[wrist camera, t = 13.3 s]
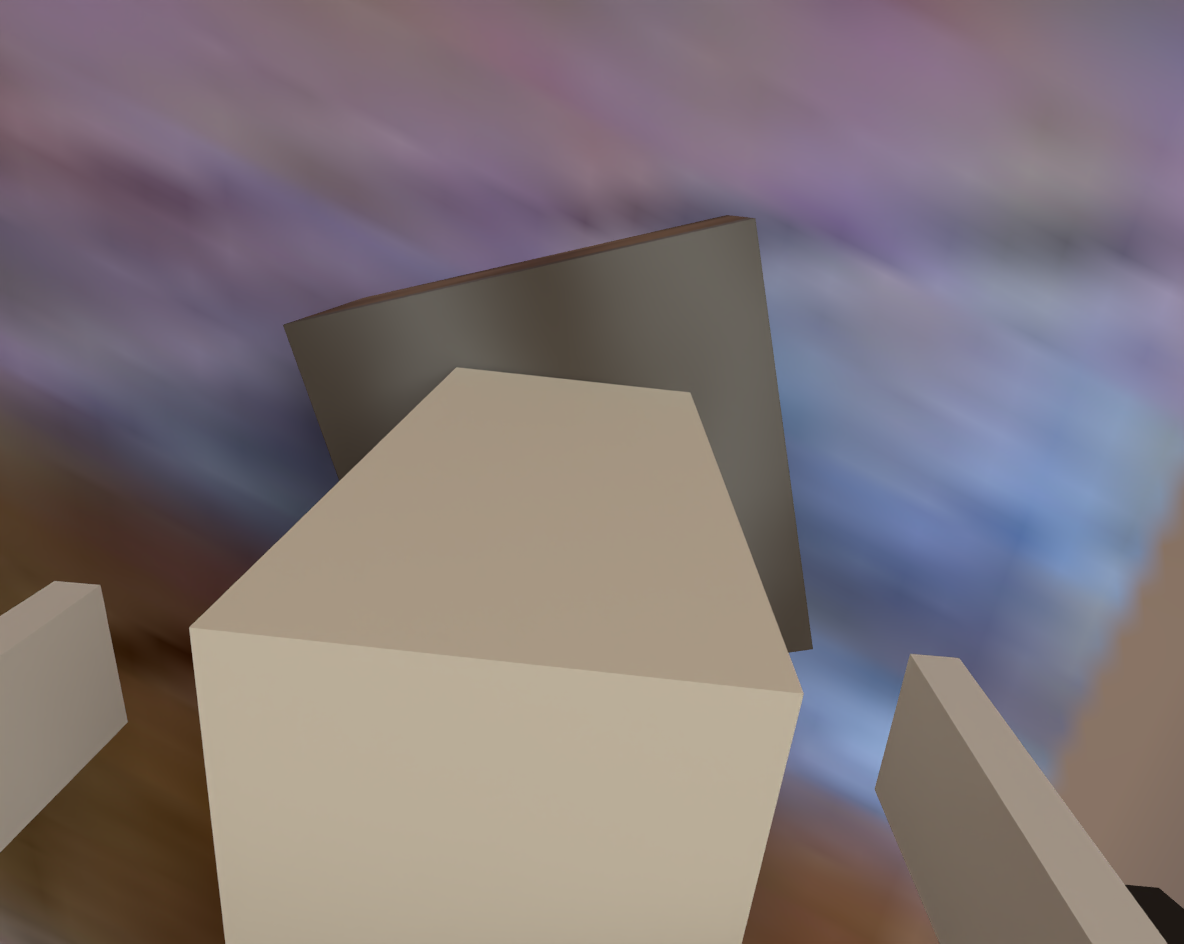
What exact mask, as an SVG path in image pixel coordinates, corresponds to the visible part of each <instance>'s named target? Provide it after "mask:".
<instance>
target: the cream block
mask: <svg viewBox="0 0 1184 944" xmlns="http://www.w3.org/2000/svg"><path fill="white" fill-rule="evenodd" d="M189 630H190V639H191V648H192V657H193V665H194V674H195V683H196V691H197V700H198V709H199V718H200V726H201V735H202V744H203V752H204V761H205V770H206V779H207V787H208V796H209V805H210V813H211V822H212V831H213V840H214V848H215V857H216V866H217V874H218V883H219V892H220V901H221V909H222V918H223V927H224V935H225V944H742V940H743V936H744V932H745V928H746V923H747V919H748V915H749V911H750V907H751V903H752V899H753V895H754V891H755V887H756V883H757V879H758V875H759V871H760V867H761V863H762V859H763V855H764V851H765V847H766V843H767V839H768V835H769V831H770V827H771V823H772V819H773V815H774V811H775V807H776V803H777V799H778V795H779V791H780V787H781V783H782V779H783V775H784V771H785V767H786V763H787V759H788V755H789V751H790V747H791V743H792V739H793V735H794V731H795V727H796V723H797V719H798V714H799V710H800V706H801V702H802V698H803V694H804V693H803V691H802V688H801V685H800V683H799V680H798V677H797V675H796V672H795V669H794V667H793V664H792V662H791V659H790V656H789V654H788V651H787V648H786V646H785V643H784V640H783V638H782V635H781V632H780V630H779V627H778V624H777V622H776V619H775V616H774V614H773V611H772V608H771V606H770V603H769V600H768V598H767V595H766V592H765V590H764V587H763V584H762V582H761V579H760V576H759V574H758V571H757V568H756V566H755V563H754V560H753V558H752V555H751V552H750V550H749V547H748V544H747V542H746V539H745V537H744V534H743V531H742V529H741V526H740V523H739V521H738V518H737V515H736V513H735V510H734V507H733V505H732V502H731V499H730V497H729V494H728V491H727V489H726V486H725V483H724V481H723V478H722V475H721V473H720V470H719V467H718V465H717V462H716V459H715V457H714V454H713V451H712V449H711V446H710V443H709V441H708V438H707V435H706V433H705V430H704V427H703V425H702V422H701V419H700V417H699V414H698V411H697V409H696V406H695V404H694V401H693V398H692V396H691V393H690V392H681V391H672V390H663V389H654V388H644V387H635V386H626V385H617V384H607V383H598V382H589V381H579V380H570V379H561V378H552V377H542V376H533V375H524V374H514V373H505V372H496V371H487V370H477V369H468V368H459V367H456V368H455V369H454V370H453V371H452V372H451V373H450V374H449V375H448V376H447V377H446V378H445V379H444V380H443V381H442V382H441V383H440V384H439V385H438V386H437V387H436V388H435V389H434V390H433V391H431V392H430V393H429V394H428V395H427V396H426V397H425V398H424V399H423V400H422V401H421V402H420V403H419V404H418V405H417V406H416V407H415V408H414V409H413V410H412V411H411V412H410V413H409V414H408V415H407V416H406V417H405V418H404V419H403V420H402V421H401V422H400V423H399V424H398V425H397V426H396V427H395V428H394V429H392V430H391V431H390V432H389V433H388V434H387V435H386V436H385V437H384V438H383V439H382V440H381V441H380V442H379V443H378V444H377V445H376V446H375V447H374V448H373V449H372V450H371V451H370V452H369V453H368V454H367V455H366V456H365V457H364V458H363V459H362V460H361V461H360V462H359V463H358V464H357V465H356V466H354V467H353V468H352V469H351V470H350V471H349V472H348V473H347V474H346V475H345V476H344V477H343V478H342V479H341V480H340V481H339V482H338V483H337V484H336V485H335V486H334V487H333V488H332V489H331V490H330V491H329V492H328V493H327V494H326V495H325V496H324V497H323V498H322V499H321V500H320V501H319V502H318V503H317V504H315V505H314V506H313V507H312V508H311V509H310V510H309V511H308V512H307V513H306V514H305V515H304V516H303V517H302V518H301V519H300V520H299V521H298V522H297V523H296V524H295V525H294V526H293V527H292V528H291V529H290V530H289V531H288V532H287V533H286V534H285V535H284V536H283V537H282V538H281V539H280V540H279V541H278V542H276V543H275V544H274V545H273V546H272V547H271V548H270V549H269V550H268V551H267V552H266V553H265V554H264V555H263V556H262V557H261V558H260V559H259V560H258V561H257V562H256V563H255V564H254V565H253V566H252V567H251V568H250V569H249V570H248V571H247V572H246V573H245V574H244V575H243V576H242V577H241V578H240V579H238V580H237V581H236V582H235V583H234V584H233V585H232V586H231V587H230V588H229V589H228V590H227V591H226V592H225V593H224V594H223V595H222V596H221V597H220V598H219V599H218V600H217V601H216V602H215V603H214V604H213V605H212V606H211V607H210V608H209V609H208V610H207V611H206V612H205V613H204V614H203V615H202V616H201V617H199V618H198V619H197V620H196V621H195V622H194V623H193V624H192V625H191V626H190V627H189Z"/></svg>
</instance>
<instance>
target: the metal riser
mask: <svg viewBox="0 0 1184 944" xmlns="http://www.w3.org/2000/svg"><path fill="white" fill-rule="evenodd" d="M283 326H284V329H285V332H286V334H287V337H288V340H289V343H290V345H291V348H292V351H293V354H294V356H295V359H296V362H297V365H298V368H299V370H300V373H301V376H302V379H303V381H304V384H305V387H306V390H307V392H308V395H309V398H310V401H311V403H312V406H313V409H314V412H315V414H316V417H317V420H318V423H319V426H320V428H321V431H322V434H323V437H324V439H325V442H326V445H327V448H328V450H329V453H330V456H331V459H332V461H333V464H334V467H335V470H336V472H337V475H338V478H339V481H340V480H341V479H342V478H343V477H344V476H345V475H346V474H347V473H348V472H349V471H350V470H351V469H352V468H353V467H354V466H356V465H357V464H358V463H359V462H360V461H361V460H362V459H363V458H364V457H365V456H366V455H367V454H368V453H369V452H370V451H371V450H372V449H373V448H374V447H375V446H376V445H377V444H378V443H379V442H380V441H381V440H382V439H383V438H384V437H385V436H386V435H387V434H388V433H389V432H390V431H391V430H392V429H394V428H395V427H396V426H397V425H398V424H399V423H400V422H401V421H402V420H403V419H404V418H405V417H406V416H407V415H408V414H409V413H410V412H411V411H412V410H413V409H414V408H415V407H416V406H417V405H418V404H419V403H420V402H421V401H422V400H423V399H424V398H425V397H426V396H427V395H428V394H429V393H430V392H431V391H433V390H434V389H435V388H436V387H437V386H438V385H439V384H440V383H441V382H442V381H443V380H444V379H445V378H446V377H447V376H448V375H449V374H450V373H451V372H452V371H453V370H454V369H455V368H456V367H459V368H468V369H477V370H487V371H496V372H505V373H514V374H524V375H533V376H542V377H552V378H561V379H570V380H579V381H589V382H598V383H607V384H617V385H626V386H635V387H644V388H654V389H663V390H672V391H681V392H690V393H691V396H692V398H693V401H694V404H695V406H696V409H697V411H698V414H699V417H700V419H701V422H702V425H703V427H704V430H705V433H706V435H707V438H708V441H709V443H710V446H711V449H712V451H713V454H714V457H715V459H716V462H717V465H718V467H719V470H720V473H721V475H722V478H723V481H724V483H725V486H726V489H727V491H728V494H729V497H730V499H731V502H732V505H733V507H734V510H735V513H736V515H737V518H738V521H739V523H740V526H741V529H742V531H743V534H744V537H745V539H746V542H747V544H748V547H749V550H750V552H751V555H752V558H753V560H754V563H755V566H756V568H757V571H758V574H759V576H760V579H761V582H762V584H763V587H764V590H765V592H766V595H767V598H768V600H769V603H770V606H771V608H772V611H773V614H774V616H775V619H776V622H777V624H778V627H779V630H780V632H781V635H782V638H783V640H784V643H785V646H786V648H787V651H788V653H789V652H796V651H802V650H809V649H813V647H812V639H811V632H810V624H809V617H808V609H807V602H806V594H805V587H804V579H803V572H802V564H801V557H800V550H799V542H798V535H797V527H796V520H795V512H794V505H793V497H792V490H791V482H790V475H789V467H788V460H787V452H786V445H785V437H784V430H783V422H782V415H781V407H780V400H779V392H778V385H777V378H776V370H775V363H774V355H773V348H772V340H771V333H770V325H769V318H768V310H767V303H766V295H765V288H764V280H763V273H762V265H761V258H760V250H759V243H758V235H757V228H756V220H755V218H748V217H738V216H729V215H726V216H721V217H717V218H713V219H708V220H704V221H699V222H695V223H691V224H686V225H682V226H677V227H673V228H669V229H664V230H660V231H655V232H651V233H647V234H642V235H638V236H634V237H629V238H625V239H620V240H616V241H612V242H607V243H603V244H598V245H594V246H590V247H585V248H581V249H576V250H572V251H568V252H563V253H559V254H554V255H550V256H546V257H541V258H537V259H532V260H528V261H524V262H519V263H515V264H510V265H506V266H502V267H497V268H493V269H488V270H484V271H480V272H475V273H471V274H466V275H462V276H458V277H453V278H449V279H444V280H440V281H436V282H431V283H427V284H423V285H418V286H414V287H409V288H405V289H401V290H396V291H392V292H387V293H383V294H379V295H374V296H370V297H365V298H362V299H359V300H356V301H353V302H350V303H347V304H344V305H341V306H338V307H335V308H332V309H329V310H326V311H323V312H320V313H317V314H314V315H311V316H308V317H305V318H302V319H299V320H296V321H293V322H290V323H287V324H284V325H283Z"/></svg>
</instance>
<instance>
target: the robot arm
mask: <svg viewBox="0 0 1184 944" xmlns="http://www.w3.org/2000/svg"><path fill="white" fill-rule="evenodd" d="M127 722H128V721H127V716H126V711H125V706H124V701H123V696H122V691H121V686H120V681H119V676H118V671H117V666H116V661H115V656H114V651H113V646H112V641H111V636H110V631H109V626H108V621H107V616H106V611H105V606H104V601H103V596H102V591H101V586H100V585H94V584H82V583H70V582H59V581H54V582H52V583H51V584H49V585H48V586H46V587H45V588H43V589H42V590H40V591H39V592H37V593H35V594H34V595H32V596H31V597H29V598H28V599H26V600H25V601H23V602H21V603H20V604H18V605H17V606H15V607H14V608H12V609H11V610H9V611H8V612H6V613H4V614H3V615H1V616H0V852H1V851H2V850H3V849H4V848H5V847H6V846H7V845H8V844H9V843H10V842H11V841H12V840H13V839H14V838H15V837H16V836H17V835H18V834H19V833H20V832H21V831H22V830H23V828H24V827H25V826H26V825H27V824H28V823H29V822H30V821H31V820H32V819H33V818H34V817H35V816H36V815H37V814H38V813H39V812H40V811H41V810H42V809H43V808H44V807H45V806H46V805H47V804H48V803H49V802H50V801H51V800H52V799H53V798H54V797H55V796H56V795H57V794H58V793H59V792H60V791H61V790H62V789H63V788H64V787H65V786H66V785H67V784H68V783H69V782H70V781H71V780H72V779H73V777H74V776H75V775H76V774H77V773H78V772H79V771H80V770H81V769H82V768H83V767H84V766H85V765H86V764H87V763H88V762H89V761H90V760H91V759H92V758H93V757H94V756H95V755H96V754H97V753H98V752H99V751H100V750H101V749H102V748H103V747H104V746H105V745H106V744H107V743H108V742H109V741H110V740H111V739H112V738H113V737H114V736H115V735H116V734H117V733H118V732H119V731H120V730H121V729H122V728H123V726H124V725H125V724H126V723H127ZM875 791H876V794H877V796H878V798H879V801H880V803H881V805H882V808H883V810H884V813H885V815H886V817H887V820H888V822H889V824H890V827H891V829H892V832H893V834H894V836H895V839H896V841H897V844H898V846H899V848H900V851H901V853H902V855H903V858H904V860H905V863H906V865H907V867H908V870H909V872H910V874H911V877H912V879H913V882H914V884H915V886H916V889H917V891H918V893H919V896H920V898H921V901H922V903H923V905H924V908H925V910H926V913H927V915H928V917H929V920H930V922H931V924H932V927H933V929H934V932H935V934H936V936H937V939H938V941H939V943H940V944H1184V909H1183V908H1182V907H1181V906H1180V905H1178V904H1177V903H1176V902H1175V901H1174V900H1172V899H1171V898H1170V897H1169V896H1168V895H1167V894H1165V893H1164V892H1163V891H1162V890H1161V889H1159V888H1154V887H1143V886H1133V885H1124V883H1123V882H1122V881H1121V879H1120V878H1119V877H1118V875H1117V874H1116V872H1115V871H1114V870H1113V869H1112V867H1111V866H1110V864H1109V863H1108V861H1107V860H1106V859H1105V857H1104V856H1103V855H1102V853H1101V852H1100V851H1099V849H1098V848H1097V846H1096V845H1095V844H1094V842H1093V841H1092V840H1091V838H1090V837H1089V835H1088V834H1087V833H1086V831H1085V830H1084V829H1083V827H1082V826H1081V825H1080V823H1079V822H1078V821H1077V819H1076V818H1075V816H1074V815H1073V814H1072V812H1071V811H1070V810H1069V808H1068V807H1067V805H1066V804H1065V803H1064V801H1063V800H1062V799H1061V797H1060V796H1059V794H1058V793H1057V792H1056V790H1055V789H1054V788H1053V786H1052V785H1051V783H1050V782H1049V781H1048V779H1047V778H1046V777H1045V775H1044V774H1043V772H1042V771H1041V770H1040V768H1039V767H1038V766H1037V764H1036V763H1035V762H1034V760H1033V759H1032V757H1031V756H1030V755H1029V753H1028V752H1027V751H1026V749H1025V748H1024V746H1023V745H1022V744H1021V742H1020V741H1019V740H1018V738H1017V737H1016V736H1015V734H1014V733H1013V731H1012V730H1011V729H1010V727H1009V726H1008V725H1007V723H1006V722H1005V720H1004V719H1003V718H1002V716H1001V715H1000V714H999V712H998V711H997V710H996V708H995V707H994V705H993V704H992V703H991V701H990V700H989V699H988V697H987V696H986V694H985V693H984V692H983V690H982V689H981V688H980V686H979V685H978V684H977V682H976V681H975V679H974V678H973V677H972V675H971V674H970V673H969V671H968V670H967V668H966V667H965V666H964V664H963V663H962V662H961V660H960V659H959V658H952V657H940V656H928V655H916V654H910V657H909V661H908V664H907V668H906V672H905V676H904V680H903V684H902V687H901V691H900V695H899V699H898V703H897V706H896V710H895V714H894V718H893V722H892V725H891V729H890V733H889V737H888V741H887V745H886V748H885V752H884V756H883V760H882V764H881V767H880V771H879V775H878V779H877V783H876V786H875Z"/></svg>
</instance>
